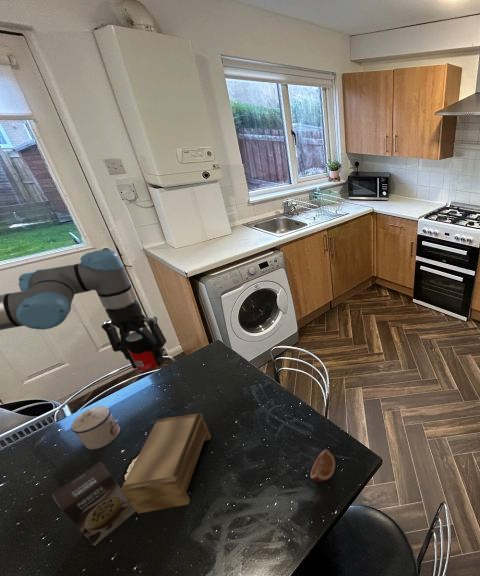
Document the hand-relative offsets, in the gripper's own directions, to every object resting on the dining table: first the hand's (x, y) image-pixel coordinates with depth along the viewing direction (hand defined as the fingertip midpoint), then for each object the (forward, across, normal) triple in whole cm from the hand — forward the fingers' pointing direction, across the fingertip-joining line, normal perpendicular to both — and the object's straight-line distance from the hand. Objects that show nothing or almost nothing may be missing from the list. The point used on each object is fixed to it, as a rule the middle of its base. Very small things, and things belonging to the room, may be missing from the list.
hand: (149, 364), depth 99 cm
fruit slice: (+19, -53, +34) cm, 66 cm away
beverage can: (+1, 0, 0) cm, 1 cm away
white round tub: (+19, +16, +8) cm, 26 cm away
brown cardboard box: (+19, 0, +36) cm, 41 cm away
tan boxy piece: (+19, -12, +26) cm, 34 cm away
